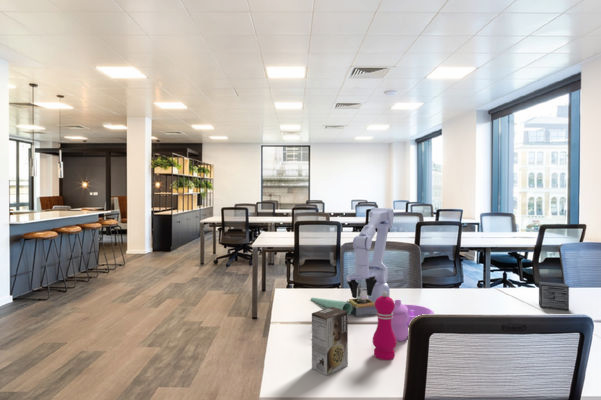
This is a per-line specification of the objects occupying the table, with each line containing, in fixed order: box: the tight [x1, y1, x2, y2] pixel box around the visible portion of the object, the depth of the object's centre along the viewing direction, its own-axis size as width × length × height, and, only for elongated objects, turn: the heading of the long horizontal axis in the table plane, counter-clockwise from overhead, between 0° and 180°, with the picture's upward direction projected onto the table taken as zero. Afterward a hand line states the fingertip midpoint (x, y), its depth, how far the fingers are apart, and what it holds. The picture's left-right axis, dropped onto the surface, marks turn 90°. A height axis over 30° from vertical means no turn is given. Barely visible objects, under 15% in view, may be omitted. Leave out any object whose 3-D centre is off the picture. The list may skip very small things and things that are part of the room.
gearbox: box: [346, 298, 377, 318], centre depth 161 cm, size 12×10×5 cm
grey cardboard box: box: [311, 307, 349, 376], centre depth 110 cm, size 9×6×16 cm
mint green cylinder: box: [310, 297, 352, 316], centre depth 168 cm, size 5×6×27 cm
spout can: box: [356, 284, 368, 304], centre depth 161 cm, size 4×4×8 cm
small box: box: [538, 281, 570, 311], centre depth 168 cm, size 11×6×10 cm, turn 65°
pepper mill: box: [372, 291, 397, 361], centre depth 118 cm, size 7×7×20 cm
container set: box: [391, 299, 435, 342], centre depth 140 cm, size 25×15×13 cm, turn 143°
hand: (361, 296), depth 161 cm, fingers open, 7 cm apart
